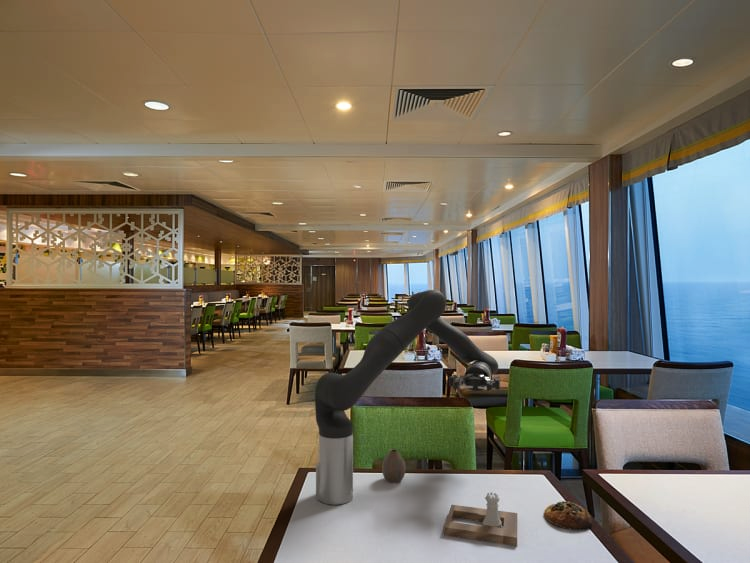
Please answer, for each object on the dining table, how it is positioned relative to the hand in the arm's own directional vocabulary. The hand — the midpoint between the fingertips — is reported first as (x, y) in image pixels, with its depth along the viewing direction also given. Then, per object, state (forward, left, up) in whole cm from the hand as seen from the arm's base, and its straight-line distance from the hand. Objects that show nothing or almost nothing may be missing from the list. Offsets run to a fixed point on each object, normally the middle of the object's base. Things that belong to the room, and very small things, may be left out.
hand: (472, 386), depth 130 cm
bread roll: (+24, -7, -30) cm, 39 cm away
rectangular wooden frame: (+4, -18, -30) cm, 35 cm away
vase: (-23, +3, -30) cm, 38 cm away
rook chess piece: (+6, -18, -30) cm, 35 cm away
